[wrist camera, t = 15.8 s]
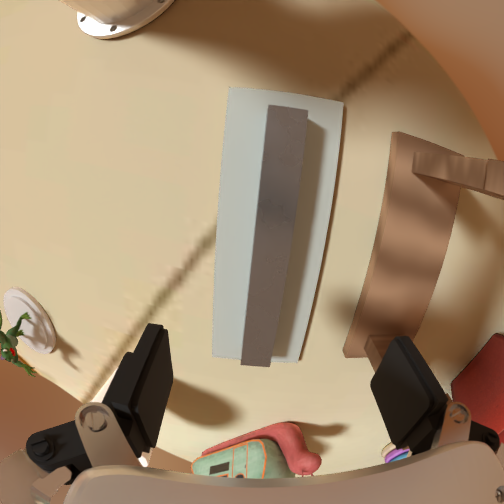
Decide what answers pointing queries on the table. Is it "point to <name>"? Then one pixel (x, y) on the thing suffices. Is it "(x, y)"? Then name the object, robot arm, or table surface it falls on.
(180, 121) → the table surface
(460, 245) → the table surface
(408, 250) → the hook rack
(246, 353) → the rail
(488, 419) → the plant pot
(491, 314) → the table surface
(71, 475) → the robot arm
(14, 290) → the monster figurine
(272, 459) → the toy snail
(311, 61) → the table surface
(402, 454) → the stacking toy
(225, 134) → the mat
